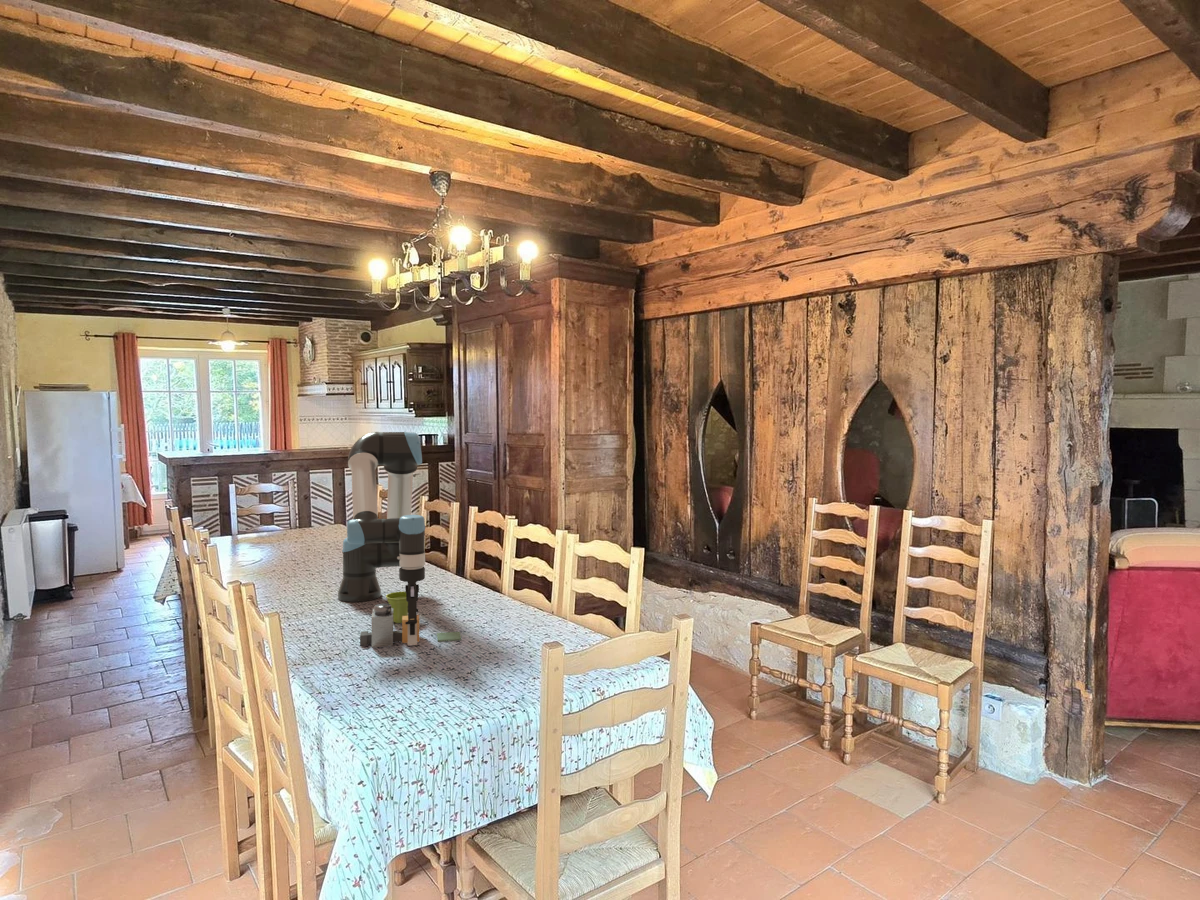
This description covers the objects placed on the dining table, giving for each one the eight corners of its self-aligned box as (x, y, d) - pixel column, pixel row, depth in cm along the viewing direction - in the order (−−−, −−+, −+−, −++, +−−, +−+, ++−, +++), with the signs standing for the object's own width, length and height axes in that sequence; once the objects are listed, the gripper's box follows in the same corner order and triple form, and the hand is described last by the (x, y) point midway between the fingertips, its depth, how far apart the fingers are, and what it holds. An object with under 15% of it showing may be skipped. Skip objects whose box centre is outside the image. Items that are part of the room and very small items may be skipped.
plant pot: (385, 625, 229) (385, 599, 228) (386, 617, 238) (386, 592, 237) (415, 623, 231) (415, 597, 231) (415, 615, 240) (415, 590, 240)
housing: (373, 638, 216) (372, 602, 216) (393, 636, 218) (393, 601, 217) (371, 647, 208) (371, 610, 207) (392, 646, 209) (392, 609, 209)
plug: (361, 641, 213) (361, 618, 213) (419, 637, 218) (419, 614, 217) (360, 645, 209) (359, 622, 209) (419, 642, 213) (419, 619, 213)
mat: (436, 634, 220) (436, 633, 220) (459, 633, 222) (459, 631, 222) (437, 641, 214) (437, 640, 214) (461, 640, 215) (461, 638, 215)
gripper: (399, 559, 224) (399, 628, 225) (398, 575, 202) (398, 652, 203) (424, 558, 226) (424, 627, 227) (425, 574, 204) (425, 650, 205)
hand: (412, 639), depth 215 cm, fingers open, 10 cm apart
